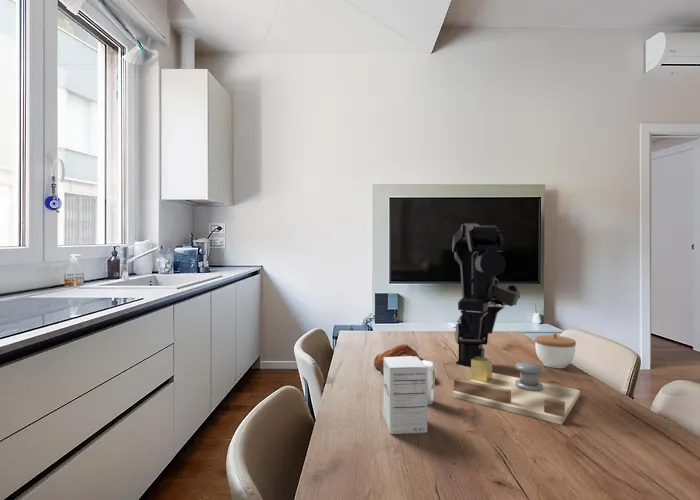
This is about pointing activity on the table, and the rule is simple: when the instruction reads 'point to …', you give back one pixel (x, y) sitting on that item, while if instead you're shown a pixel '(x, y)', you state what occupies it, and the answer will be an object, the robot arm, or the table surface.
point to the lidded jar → (555, 350)
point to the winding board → (518, 397)
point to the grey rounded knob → (529, 376)
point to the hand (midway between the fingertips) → (483, 336)
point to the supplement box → (405, 395)
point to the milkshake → (430, 380)
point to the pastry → (394, 355)
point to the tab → (481, 369)
